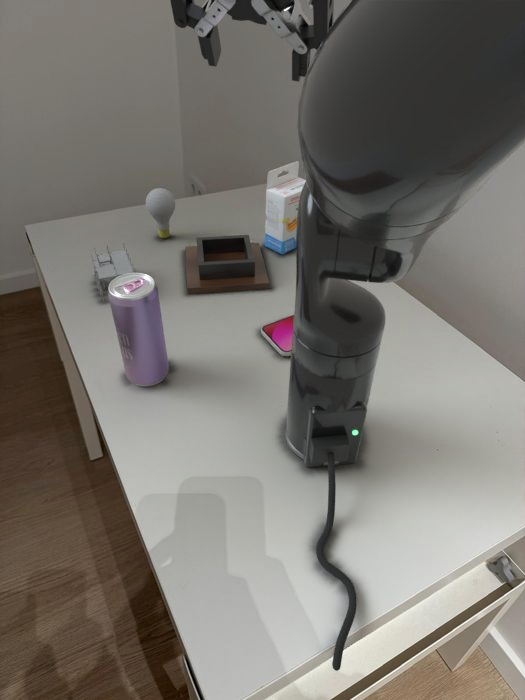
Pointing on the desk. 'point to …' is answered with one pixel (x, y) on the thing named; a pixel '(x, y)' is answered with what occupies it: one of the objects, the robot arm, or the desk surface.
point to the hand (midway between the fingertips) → (256, 66)
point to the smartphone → (280, 334)
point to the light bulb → (161, 209)
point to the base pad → (225, 265)
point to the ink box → (282, 208)
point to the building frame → (111, 266)
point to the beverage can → (139, 328)
